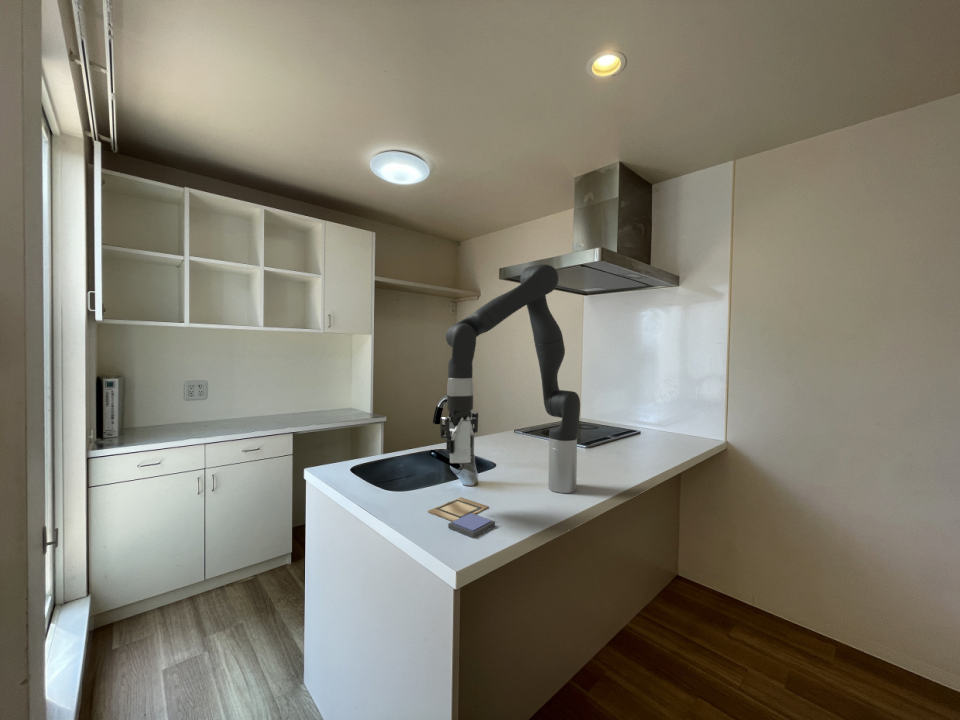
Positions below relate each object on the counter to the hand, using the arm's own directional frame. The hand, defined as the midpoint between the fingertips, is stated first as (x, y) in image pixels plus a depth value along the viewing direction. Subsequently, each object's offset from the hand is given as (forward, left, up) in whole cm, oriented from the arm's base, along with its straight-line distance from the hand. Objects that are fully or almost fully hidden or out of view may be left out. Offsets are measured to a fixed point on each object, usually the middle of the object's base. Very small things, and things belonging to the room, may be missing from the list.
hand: (459, 450), depth 113 cm
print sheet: (0, 0, -17) cm, 17 cm away
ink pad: (+6, +10, -17) cm, 21 cm away
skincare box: (0, 0, -3) cm, 3 cm away
